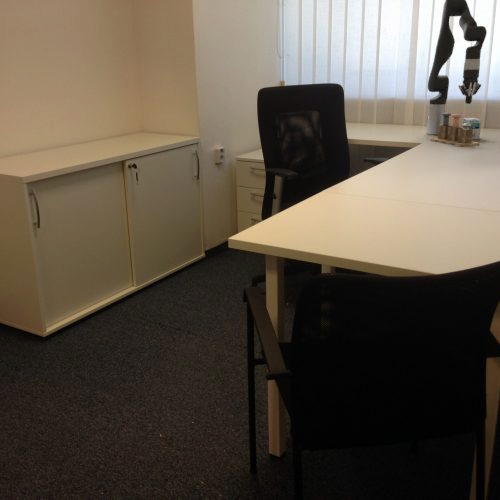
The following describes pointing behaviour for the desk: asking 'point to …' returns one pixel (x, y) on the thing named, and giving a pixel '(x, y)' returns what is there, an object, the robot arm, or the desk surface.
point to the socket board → (455, 136)
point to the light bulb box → (474, 126)
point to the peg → (446, 119)
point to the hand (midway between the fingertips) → (468, 103)
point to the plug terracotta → (456, 120)
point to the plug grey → (466, 126)
